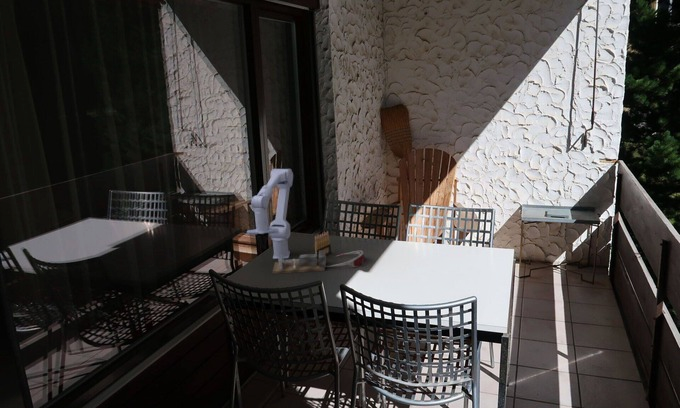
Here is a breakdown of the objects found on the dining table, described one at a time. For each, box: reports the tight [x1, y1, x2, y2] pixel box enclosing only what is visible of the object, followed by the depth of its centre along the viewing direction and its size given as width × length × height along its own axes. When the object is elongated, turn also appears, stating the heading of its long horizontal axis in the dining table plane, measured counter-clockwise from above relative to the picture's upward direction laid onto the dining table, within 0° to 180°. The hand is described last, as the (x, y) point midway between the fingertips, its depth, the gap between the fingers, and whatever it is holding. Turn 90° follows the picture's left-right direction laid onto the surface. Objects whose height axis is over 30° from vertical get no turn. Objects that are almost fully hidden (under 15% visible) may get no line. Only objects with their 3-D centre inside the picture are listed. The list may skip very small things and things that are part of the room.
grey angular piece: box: [277, 255, 300, 270], centre depth 259 cm, size 10×9×4 cm
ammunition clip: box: [314, 230, 332, 260], centre depth 273 cm, size 11×2×12 cm, turn 142°
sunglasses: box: [325, 250, 365, 268], centre depth 264 cm, size 17×17×5 cm
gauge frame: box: [272, 250, 327, 275], centre depth 260 cm, size 24×12×6 cm, turn 91°
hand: (264, 248), depth 261 cm, fingers closed
